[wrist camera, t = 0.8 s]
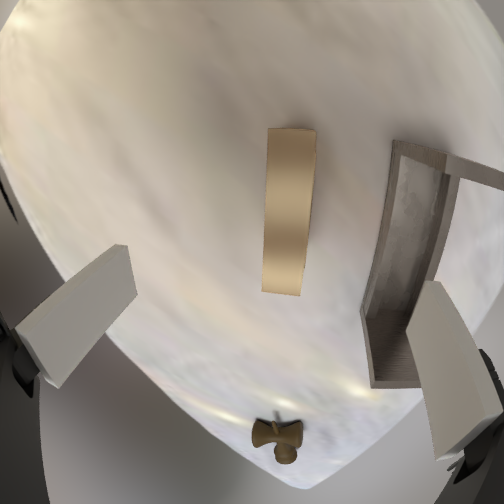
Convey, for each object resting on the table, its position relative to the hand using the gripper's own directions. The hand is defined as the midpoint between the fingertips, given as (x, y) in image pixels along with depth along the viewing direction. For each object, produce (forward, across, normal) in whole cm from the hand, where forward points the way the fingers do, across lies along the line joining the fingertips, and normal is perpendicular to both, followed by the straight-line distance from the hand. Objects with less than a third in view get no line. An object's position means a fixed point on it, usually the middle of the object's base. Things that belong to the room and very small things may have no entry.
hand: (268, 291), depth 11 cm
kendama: (+19, +3, -49) cm, 53 cm away
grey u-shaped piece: (+18, +13, -4) cm, 23 cm away
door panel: (+18, 0, 0) cm, 18 cm away
